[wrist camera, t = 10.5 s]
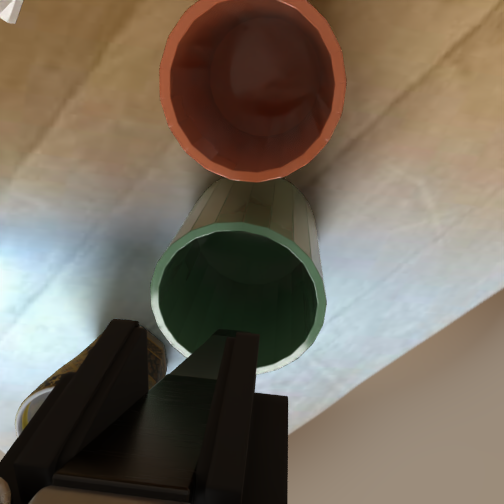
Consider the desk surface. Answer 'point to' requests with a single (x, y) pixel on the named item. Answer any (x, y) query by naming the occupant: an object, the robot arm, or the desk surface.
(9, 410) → the desk surface
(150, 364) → the ceramic cup
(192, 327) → the green cup
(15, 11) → the headphone stand
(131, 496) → the tongs
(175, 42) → the terracotta cup
